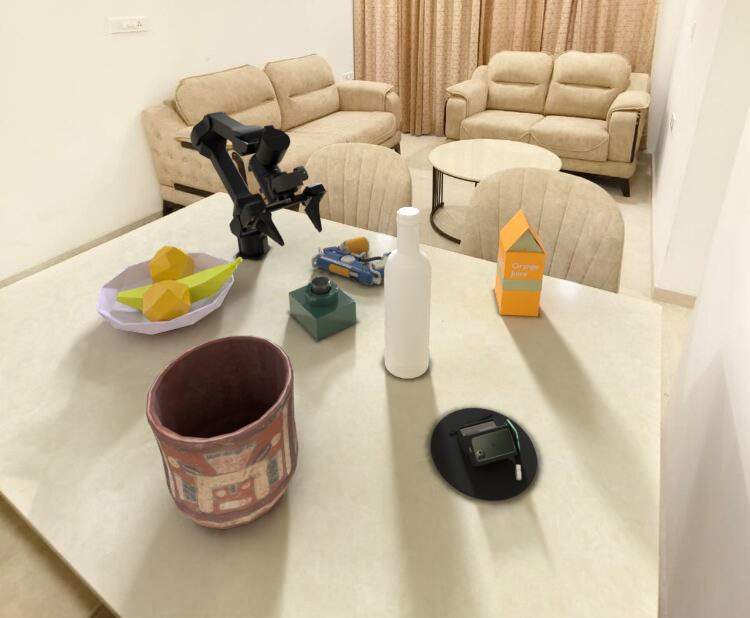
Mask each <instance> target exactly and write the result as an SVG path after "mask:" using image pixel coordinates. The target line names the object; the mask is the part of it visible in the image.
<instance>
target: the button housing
mask: <svg viewBox="0 0 750 618" xmlns="http://www.w3.org/2000/svg"><path fill="white" fill-rule="evenodd" d="M288 303H289V304H288V305H289V313H290V314H291V316H293V317H294V319H295V320H297V322H298V323H300V324H301V325H302V327H303V328H305V330H306V331H308V332H309V334H310V335H311V336H312V337H313V338H314V339H315V340H316V341H318V342H319V341H321V340H323V339H325V338H327V337H329V336H331V335H333V334H335V333H338V332H339V331H342V330H343V329H346V328H348V327H350V326H352V325H354V324H356V323H357V302H356V300H354V299H353V298H352V297H351V296H350V295H348V294H347V293H346V292H345V291H344V290H342V289H341V288H339V286H338V284H336V282H334V281H333V280H330V292H329V293H326V294H322V295H317V294H314V293H313V292H312V283H311V281H310V282H308V283H307V284H306V285H303V286H301V287H299V288H297V289H294V290H291V291H289V292H288Z"/></svg>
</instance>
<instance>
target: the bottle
mask: <svg viewBox="0 0 750 618" xmlns="http://www.w3.org/2000/svg"><path fill="white" fill-rule="evenodd" d="M395 222H396V249H394V250H393V251H391V252H392V253H391V254H389V257H388V259H387V262H386V265H385V268H384V279H383V284H384V285H383V287H384V288H383V289H384V290H383V293H384V295H383V296H384V305H383V306H384V307H383V308H384V309H383V310H384V311H383V312H384V313H383V314H384V349H383V356H384V365H385V368H386V370H387V371H388V372H389V373H390V374H391V375H393V376H395V377H397V378H401V379H415V378H419V377H420V376H422V375H423V374H425V372H427V370H428V369H429V360H430V334H431V333H430V331H431V330H430V328H431V301H432V300H431V299H432V272H433V269H432V266H431V263H430V260H429V258H428V255H427V253H425V252H424V251H423V250H422V249H420V239H421V238H420V237H421V233H420V232H421V223H422V218H421V212H420V210H419V209H418V208H416V207H413V206H404V207H401V208H400V209H398V210H397V212H396V218H395Z"/></svg>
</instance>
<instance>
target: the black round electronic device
mask: <svg viewBox="0 0 750 618" xmlns="http://www.w3.org/2000/svg"><path fill="white" fill-rule="evenodd" d="M430 454H431V458H432V461H433V464H434V466H435V468H436V469H437V471H438V473H439V474H440V476H441V477H442V478H443V479H444V481H446V482H447V483H448V484H449V485H450V486H451V487H452V488H454V489H456V490H457V491H459V492H460V493H462V494H464V495H466V496H469V497H472V498H474V499H478V500H483V501H491V502H492V501H493V502H494V501H495V502H497V501H504V500H508V499H511V498H512V499H513V498H515V497H517V496H519V495H520V494H522V493H523V492H525V491H526V490H527V489H528V488H529V486H530V485H531V484H532V482H533V480H534V478H535V475H536V473H537V469H538V457H537V451H536V448H535V446H534V443H533V442H532V440H531V438H530V437H529V435H528V433H527V432H526V431H525V430H524V428H522V427H521V426H520V425H519V424H518V423H517V422H515V421H514V420H513V419H512V418H510V417H508V416H506V415H505V414H503V413H500V412H497V411H494V410H491V409H488V408H482V407H481V408H480V407H467V408H461V409H457V410H455V411H452V412H450V413H448V414H446V415H445V416H443V418H442V419H440V421H439V422H437V424H436V426H435V427H434V429H433V431H432V434H431V438H430Z"/></svg>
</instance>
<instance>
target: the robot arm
mask: <svg viewBox="0 0 750 618" xmlns="http://www.w3.org/2000/svg"><path fill="white" fill-rule="evenodd" d="M189 136H190V138H189V139H190V142H191V144H192V146H193V147H194V148H195V149H196V150H197V152H198V154H199V155H200V156H202V157H205V158H206V159H208V160H210V162H211V165H212V166H213V168H214V169H215V172H216V173H217V175H218V177H219V179H220V181H221V183H222V185H223V186H224V188H225V190H226V192H227V194H228V197H230V199H231V201H232V203H233V207H232V208H233V209H232V219H231V220H230V222H229V224H228V225H229V230H230V233H231V234H232V235H233V236H235V237H236V239H237V246H238V252H237V253H236V254H235V257H236V258H238V257H241V258H242V259H248V260H261V259H262V258H263V257H264V256H265V254H266V253H267V252H268V251H269V250H270V249H271V246H270V245H269V240H268V239H269V238H270V239H271V240H272V241H273V242H275V243H276V244H277V245H279V246H280V247H284V246H285V241H284V239H283V236H282V234H281V233H280V231H279V230H278V228H277V226H276V224H275V223H274V221H273V218H272V217H273V214H272V213H275V212H277V211H280V210H283V209H286V208H290V207H293V206H295V205H299V204H301V206H302V207H304V209H303V211H304V212H305V215H306V216H307V217H308V219H309V220H310V222H311V224H312V225H313V227H314V228H315V229H316V231H317V232H318V233H321V232H322V231H323V225H322V219H321V214H320V212H321V211H320V203H321V202H322V200H323V199H324V197H325V195H326V194H327V192H328V190H327V188H326V187H325V184H324V183H321V182H316V183H312V184H309V185H306V186H305V187H304V189H303V190H302V192H301V193H298V191H299V188H298V187H302V186H304V185H305V183H304V182H306V181H308V180H309V173H308V171H307V169H306V167H305V166H304V165H300V166H299V165H298V166H296V167H294V168H293V169H292V171H291V172H287V171H286V170H284V171H283V170H282V168H281V167H280V165H279V164H280V163H282V161H283V159H284V157H285V156H286V153H287V152H288V149H289V148H290V145H291V138H290V136H289V134H288V133H286V132H285V131H284V130H282V129H279V128H275V126H274V124H268V125H263V126H261V125H256V124H251V125H250V124H247V125H246V124H243V123H241V122H240V121H238V120H236V119H234V118H233V117H231V116H229V115H228V114H227V113H226V111H215V112H210V113H206V114H204V115H203V117H202V120H200V121H199V122H198V123H196V124H195V125H194V126H193V127H192V130H191V132H190V135H189ZM228 141H229V142H231V146H232V150H233V151H234V152H235V153H236V154H237V155H238V156H239V157H247V156H250V155H252V156H251V157H250V159H249V160H248V164H247V171H248V173H251V172H252V174H253V177H254V178H255V180H256V182H257V184H258V186H259V189H258V191H259V192H256V193H252V192H251V191H250V189H249V187H248V185H247V183H246V181H245V179H244V178H243V176H242V174H241V173H240V171H239V169H238V167H237V166H236V163H235V162H234V160H233V158H232V157H231V155H230V152H229V151H228V149H227V144H228ZM295 193H298V194H295ZM262 194H263V195H264V197H265V200H266V201H267V203H266V201H265V200H264V198H263V195H262Z"/></svg>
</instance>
